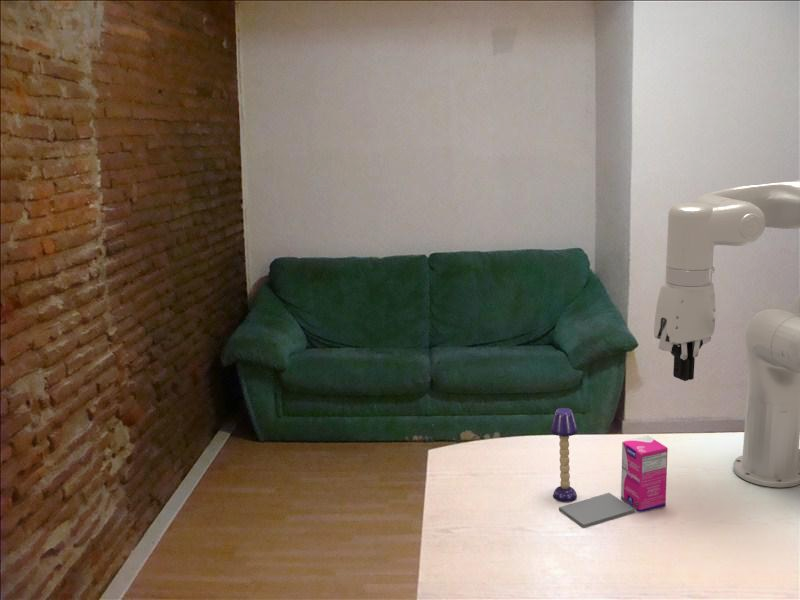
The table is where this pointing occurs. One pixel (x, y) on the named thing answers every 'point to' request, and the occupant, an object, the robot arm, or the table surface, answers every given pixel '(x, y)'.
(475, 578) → the table surface
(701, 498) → the table surface
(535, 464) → the table surface
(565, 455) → the toy lamp
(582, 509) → the mat
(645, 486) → the supplement box
